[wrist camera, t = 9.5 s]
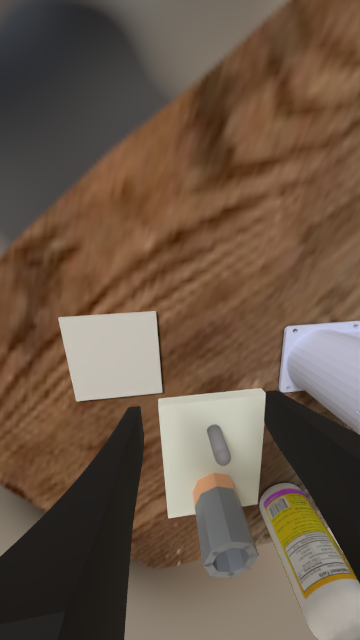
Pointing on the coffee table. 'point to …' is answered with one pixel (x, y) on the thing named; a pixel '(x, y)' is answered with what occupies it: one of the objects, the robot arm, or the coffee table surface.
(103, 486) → the robot arm
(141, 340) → the pad
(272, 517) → the supplement bottle
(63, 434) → the coffee table surface
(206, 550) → the sleeve
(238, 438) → the pin board
